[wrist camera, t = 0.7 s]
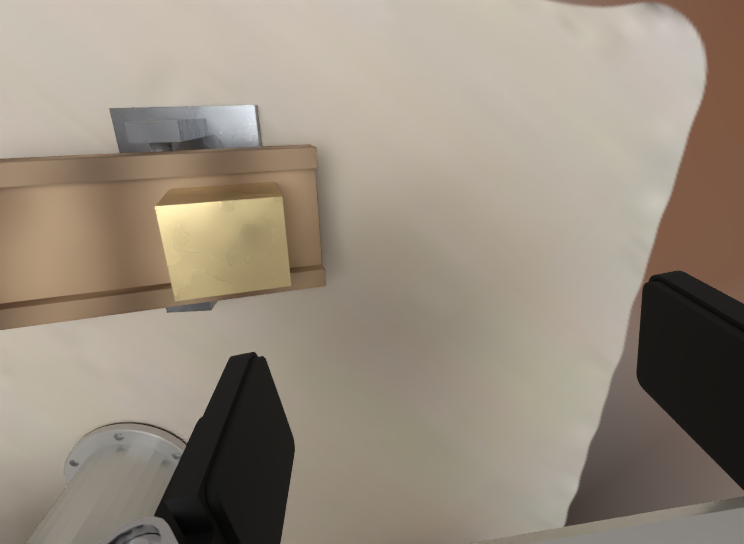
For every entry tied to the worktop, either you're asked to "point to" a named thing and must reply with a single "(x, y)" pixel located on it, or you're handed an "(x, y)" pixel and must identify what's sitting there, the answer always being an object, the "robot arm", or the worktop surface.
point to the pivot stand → (186, 137)
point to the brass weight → (224, 239)
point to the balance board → (129, 227)
